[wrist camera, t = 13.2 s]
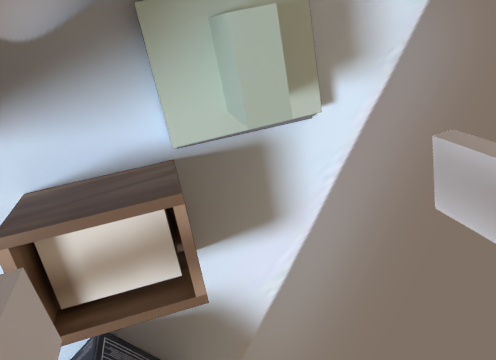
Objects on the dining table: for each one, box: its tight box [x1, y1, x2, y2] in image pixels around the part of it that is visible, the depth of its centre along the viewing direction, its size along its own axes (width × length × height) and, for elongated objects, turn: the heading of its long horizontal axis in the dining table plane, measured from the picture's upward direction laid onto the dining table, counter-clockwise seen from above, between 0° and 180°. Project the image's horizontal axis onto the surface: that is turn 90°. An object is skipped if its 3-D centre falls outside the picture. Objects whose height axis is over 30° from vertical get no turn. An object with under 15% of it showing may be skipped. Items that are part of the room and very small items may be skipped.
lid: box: [134, 0, 322, 148], centre depth 29 cm, size 11×13×8 cm
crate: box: [0, 160, 209, 346], centre depth 31 cm, size 9×12×8 cm
